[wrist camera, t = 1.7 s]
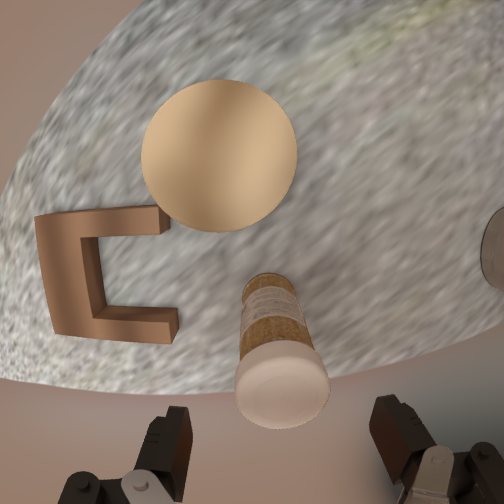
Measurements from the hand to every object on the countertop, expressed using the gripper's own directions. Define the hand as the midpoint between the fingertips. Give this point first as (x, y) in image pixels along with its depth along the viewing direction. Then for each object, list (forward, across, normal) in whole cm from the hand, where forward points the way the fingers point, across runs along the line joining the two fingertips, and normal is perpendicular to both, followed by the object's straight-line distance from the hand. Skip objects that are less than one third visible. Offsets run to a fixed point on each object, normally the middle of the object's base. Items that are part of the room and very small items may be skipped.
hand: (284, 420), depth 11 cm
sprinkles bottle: (+15, 0, 0) cm, 15 cm away
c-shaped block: (+15, +14, -2) cm, 21 cm away
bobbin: (+15, +3, -11) cm, 19 cm away
